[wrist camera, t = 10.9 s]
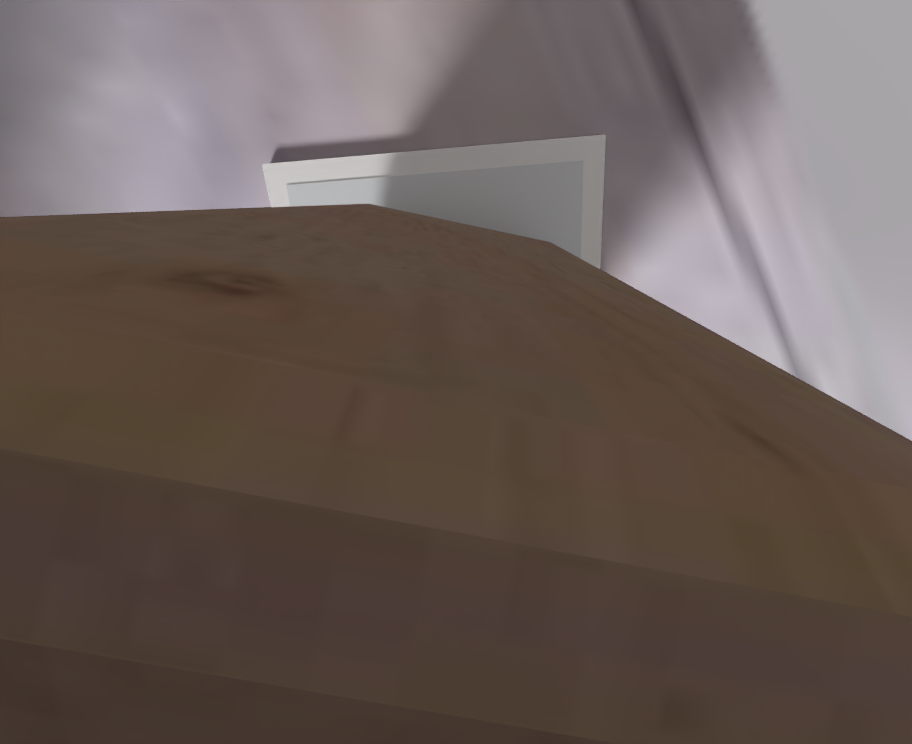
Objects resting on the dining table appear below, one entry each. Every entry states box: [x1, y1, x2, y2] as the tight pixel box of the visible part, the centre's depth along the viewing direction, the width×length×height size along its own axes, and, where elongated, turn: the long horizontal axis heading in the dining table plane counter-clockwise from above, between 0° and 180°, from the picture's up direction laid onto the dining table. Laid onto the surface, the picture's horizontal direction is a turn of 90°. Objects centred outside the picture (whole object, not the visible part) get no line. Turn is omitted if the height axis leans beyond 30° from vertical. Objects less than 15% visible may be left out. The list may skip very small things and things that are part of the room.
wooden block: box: [0, 204, 912, 744], centre depth 13 cm, size 10×10×20 cm
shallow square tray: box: [262, 134, 606, 269], centre depth 24 cm, size 16×16×1 cm
